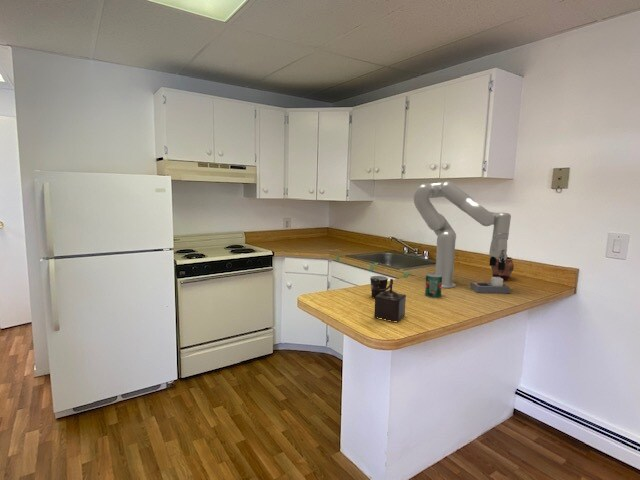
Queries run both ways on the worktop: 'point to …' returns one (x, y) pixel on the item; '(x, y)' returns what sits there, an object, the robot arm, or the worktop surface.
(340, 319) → the worktop surface
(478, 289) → the power strip
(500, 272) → the decorative planter
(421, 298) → the worktop surface
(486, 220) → the robot arm
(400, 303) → the manual coffee grinder
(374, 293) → the coffee mug
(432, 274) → the canned tomato
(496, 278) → the block
